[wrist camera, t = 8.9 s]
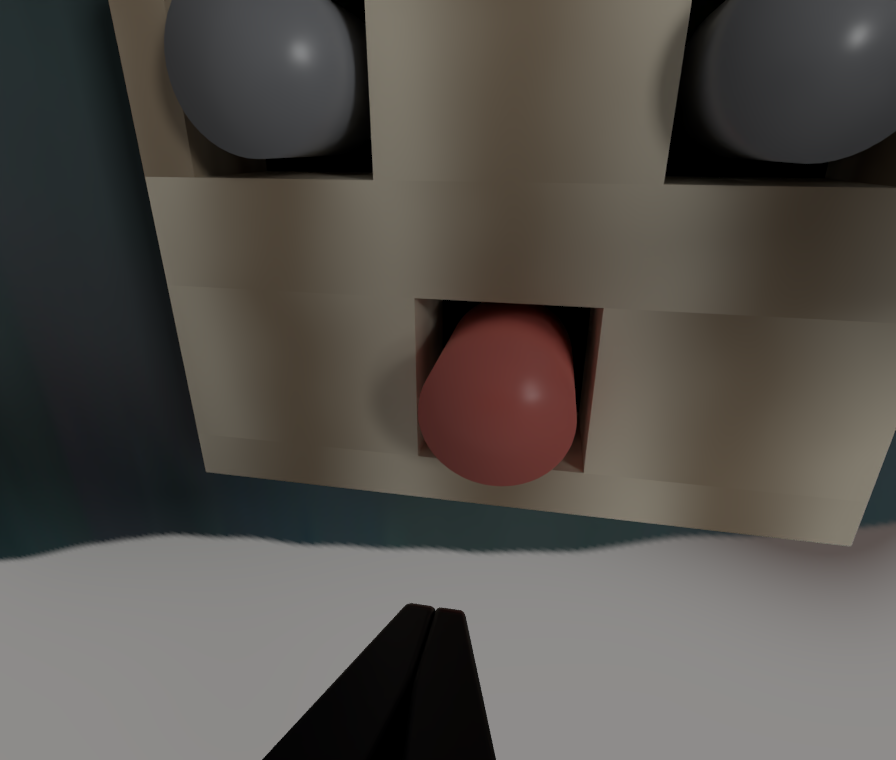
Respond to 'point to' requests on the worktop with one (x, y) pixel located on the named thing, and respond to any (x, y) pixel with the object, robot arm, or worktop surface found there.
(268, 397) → the plug board
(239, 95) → the grey plug
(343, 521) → the worktop surface
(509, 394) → the red plug
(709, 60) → the grey plug
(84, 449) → the worktop surface
